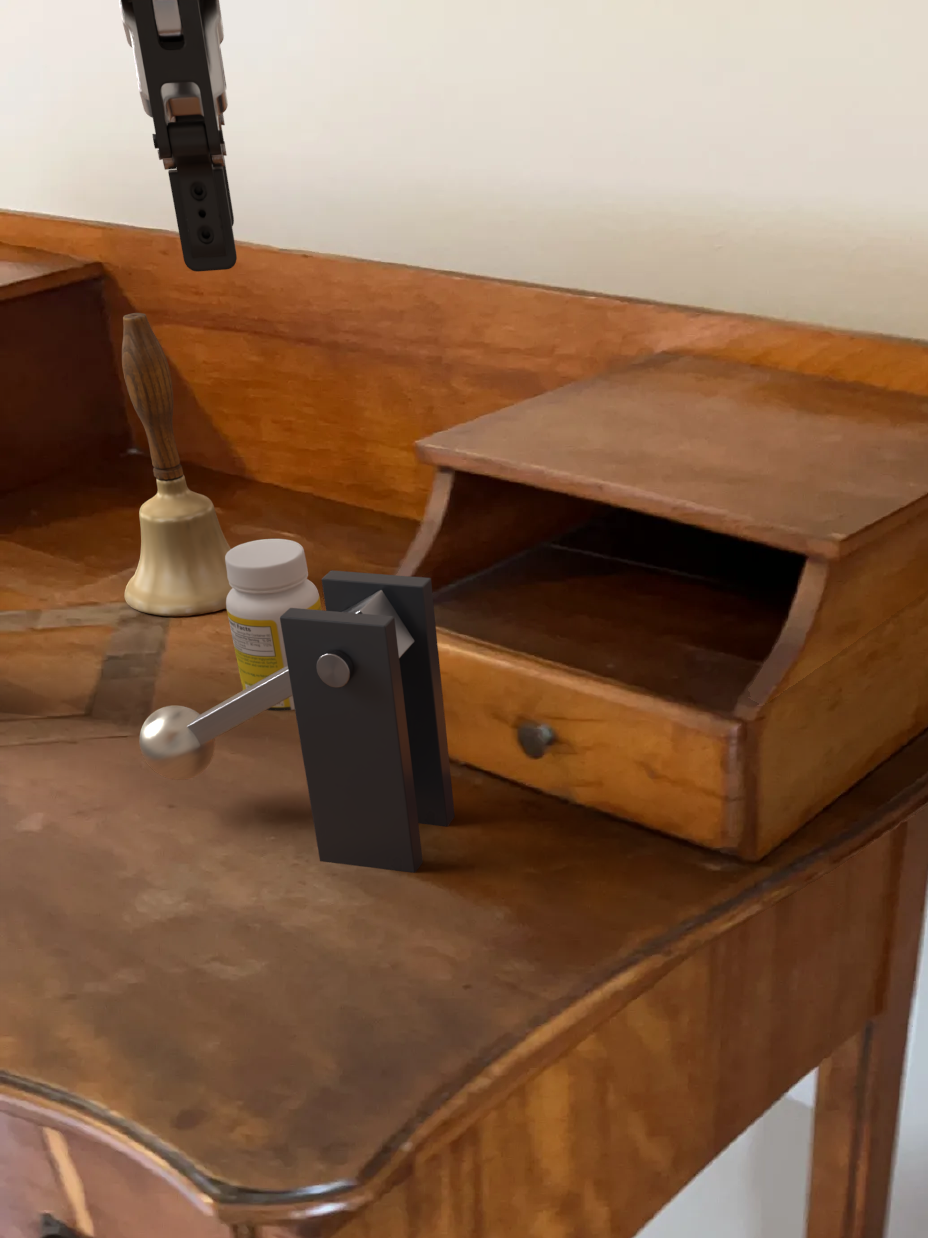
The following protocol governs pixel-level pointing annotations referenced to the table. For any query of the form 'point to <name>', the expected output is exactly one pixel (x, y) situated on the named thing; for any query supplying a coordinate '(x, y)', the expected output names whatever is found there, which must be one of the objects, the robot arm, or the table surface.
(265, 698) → the tap lever
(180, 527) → the hand bell
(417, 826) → the bracket
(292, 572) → the supplement bottle
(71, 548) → the table surface
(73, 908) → the table surface
